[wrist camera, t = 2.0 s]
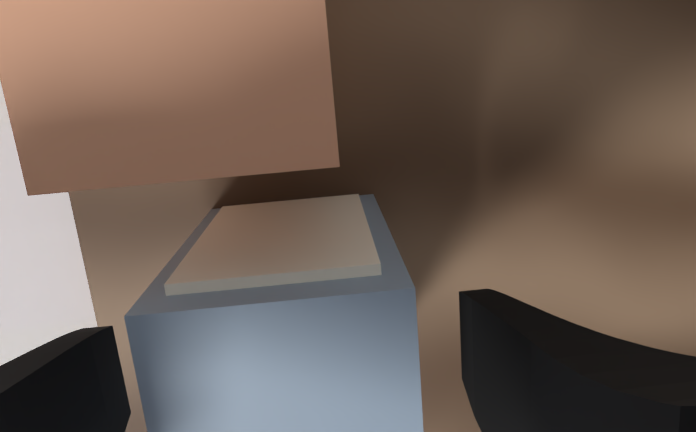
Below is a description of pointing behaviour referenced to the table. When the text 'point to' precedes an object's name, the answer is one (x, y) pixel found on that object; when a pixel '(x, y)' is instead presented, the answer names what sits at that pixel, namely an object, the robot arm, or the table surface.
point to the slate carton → (281, 324)
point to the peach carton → (165, 90)
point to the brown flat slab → (476, 173)
